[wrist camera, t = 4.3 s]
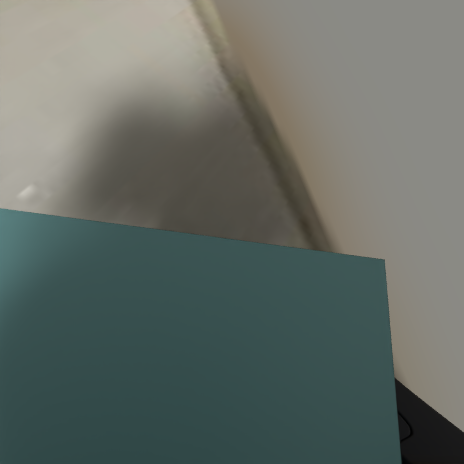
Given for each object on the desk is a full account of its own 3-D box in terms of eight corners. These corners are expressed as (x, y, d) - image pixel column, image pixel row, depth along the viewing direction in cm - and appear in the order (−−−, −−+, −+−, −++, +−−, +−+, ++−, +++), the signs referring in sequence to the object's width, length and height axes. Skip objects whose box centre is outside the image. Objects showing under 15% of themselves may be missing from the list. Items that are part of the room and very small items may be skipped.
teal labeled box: (228, 364, 14) (403, 488, 3) (111, 356, 14) (-189, 474, 3) (233, 310, 15) (384, 255, 4) (122, 298, 15) (-64, 195, 3)
